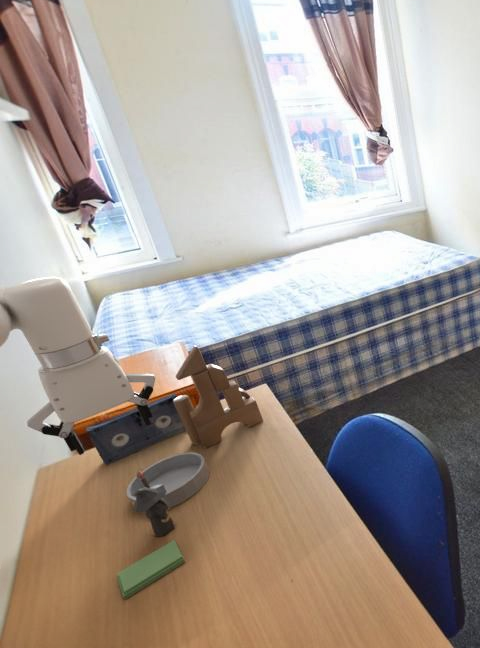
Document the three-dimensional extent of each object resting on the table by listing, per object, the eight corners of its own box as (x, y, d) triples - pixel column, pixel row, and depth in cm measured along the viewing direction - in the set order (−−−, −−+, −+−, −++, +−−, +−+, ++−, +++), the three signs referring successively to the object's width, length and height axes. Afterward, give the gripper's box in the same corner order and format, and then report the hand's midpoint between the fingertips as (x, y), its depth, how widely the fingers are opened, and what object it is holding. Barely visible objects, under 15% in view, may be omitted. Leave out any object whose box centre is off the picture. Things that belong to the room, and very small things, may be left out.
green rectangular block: (124, 599, 78) (121, 594, 78) (118, 579, 82) (115, 573, 82) (185, 562, 84) (182, 557, 83) (176, 544, 88) (174, 539, 87)
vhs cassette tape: (189, 423, 125) (175, 392, 121) (191, 428, 123) (177, 396, 119) (103, 460, 114) (85, 427, 110) (104, 465, 112) (85, 432, 108)
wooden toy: (254, 411, 127) (223, 329, 117) (263, 420, 123) (231, 336, 113) (190, 441, 117) (150, 354, 107) (197, 452, 113) (156, 363, 103)
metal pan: (141, 524, 93) (133, 511, 92) (127, 491, 103) (120, 479, 101) (218, 482, 102) (212, 470, 101) (199, 455, 112) (194, 444, 110)
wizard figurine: (189, 523, 92) (165, 476, 88) (159, 546, 88) (132, 498, 83) (166, 511, 96) (142, 465, 91) (136, 532, 91) (109, 485, 87)
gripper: (129, 327, 85) (166, 405, 91) (-4, 368, 73) (50, 454, 80) (137, 337, 80) (176, 419, 86) (-3, 383, 68) (53, 473, 75)
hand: (115, 436), depth 83 cm, fingers open, 9 cm apart
